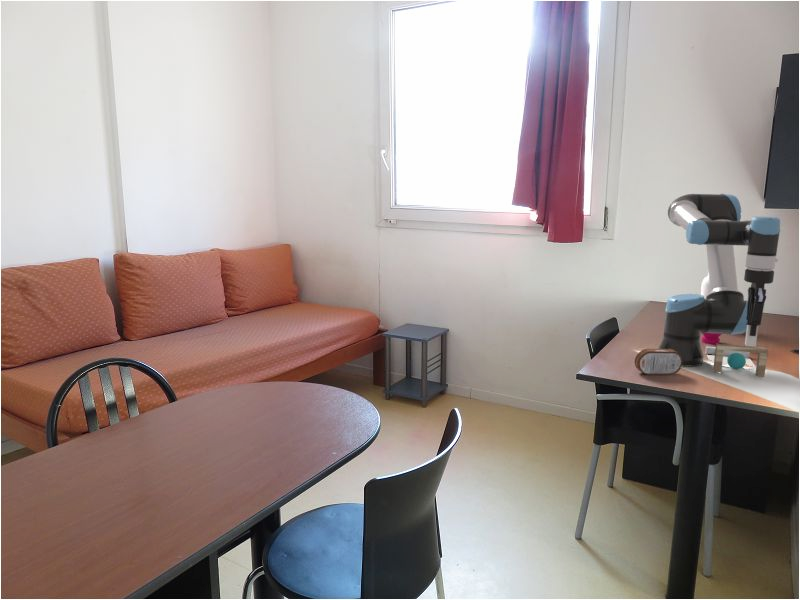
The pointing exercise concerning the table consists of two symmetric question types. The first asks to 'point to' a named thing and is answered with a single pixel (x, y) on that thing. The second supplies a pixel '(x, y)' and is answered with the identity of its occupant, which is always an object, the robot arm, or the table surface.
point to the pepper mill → (711, 338)
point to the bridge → (760, 350)
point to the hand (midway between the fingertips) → (750, 345)
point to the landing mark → (711, 357)
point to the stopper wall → (726, 352)
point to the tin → (658, 361)
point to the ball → (736, 361)
